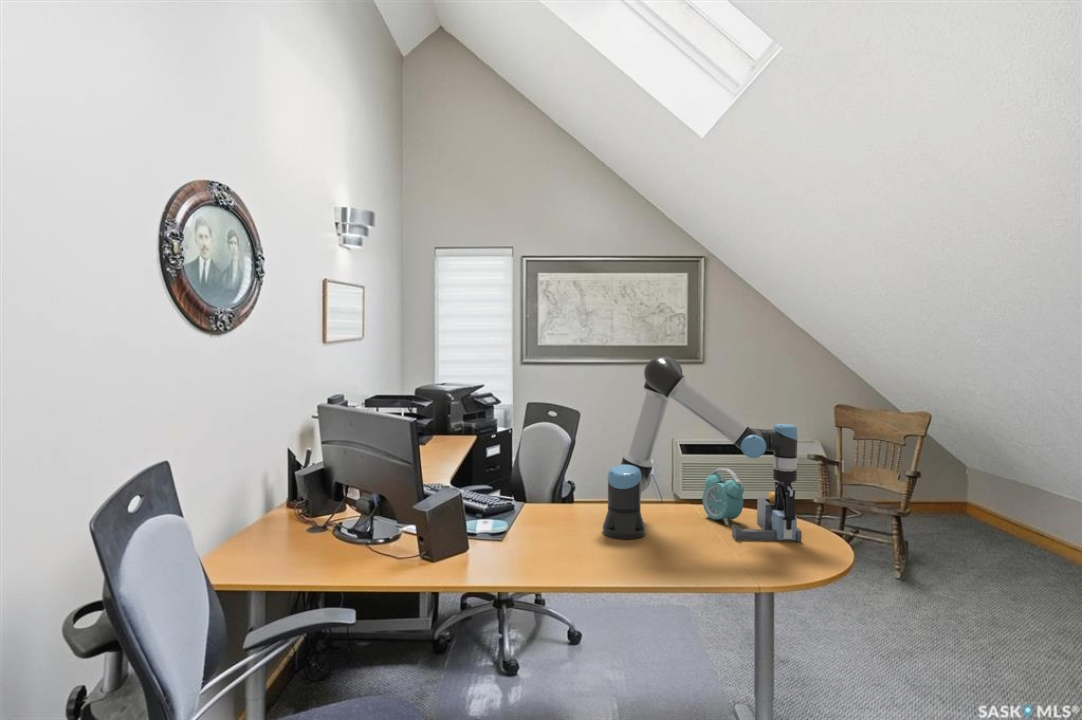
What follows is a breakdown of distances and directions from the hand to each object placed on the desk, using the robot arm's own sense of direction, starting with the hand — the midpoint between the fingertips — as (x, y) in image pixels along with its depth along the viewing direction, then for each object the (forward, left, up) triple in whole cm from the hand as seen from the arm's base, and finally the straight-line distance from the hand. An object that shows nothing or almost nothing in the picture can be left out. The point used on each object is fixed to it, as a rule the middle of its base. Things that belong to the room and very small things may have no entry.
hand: (783, 534), depth 207 cm
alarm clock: (-16, +22, -2) cm, 27 cm away
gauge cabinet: (+1, +13, -2) cm, 13 cm away
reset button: (+1, +13, +8) cm, 15 cm away
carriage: (0, 0, -1) cm, 1 cm away
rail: (-6, 0, -2) cm, 6 cm away
